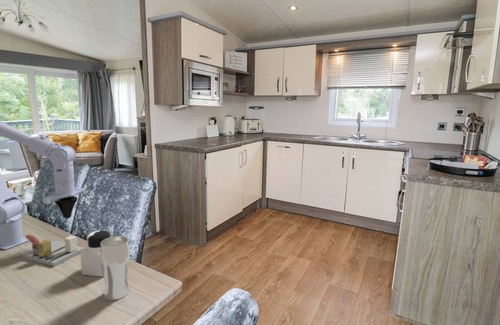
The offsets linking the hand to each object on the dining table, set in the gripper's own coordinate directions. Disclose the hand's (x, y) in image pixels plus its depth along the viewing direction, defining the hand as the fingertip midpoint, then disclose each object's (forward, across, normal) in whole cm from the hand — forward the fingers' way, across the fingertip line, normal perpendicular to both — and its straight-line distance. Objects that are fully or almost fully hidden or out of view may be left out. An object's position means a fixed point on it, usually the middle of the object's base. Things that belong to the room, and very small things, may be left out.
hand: (67, 217), depth 98 cm
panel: (+10, -8, -3) cm, 13 cm away
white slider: (+8, -5, -8) cm, 13 cm away
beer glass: (+10, -16, -37) cm, 42 cm away
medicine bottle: (+10, -9, -24) cm, 28 cm away
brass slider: (+8, -11, -3) cm, 14 cm away
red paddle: (+8, -8, +2) cm, 12 cm away
